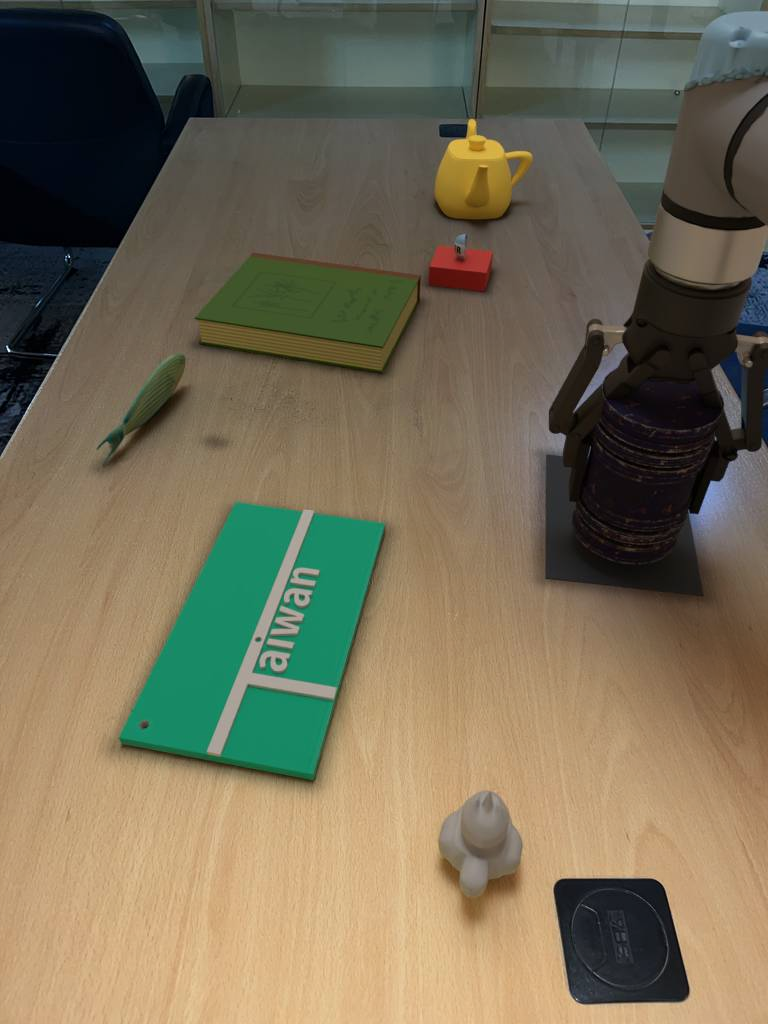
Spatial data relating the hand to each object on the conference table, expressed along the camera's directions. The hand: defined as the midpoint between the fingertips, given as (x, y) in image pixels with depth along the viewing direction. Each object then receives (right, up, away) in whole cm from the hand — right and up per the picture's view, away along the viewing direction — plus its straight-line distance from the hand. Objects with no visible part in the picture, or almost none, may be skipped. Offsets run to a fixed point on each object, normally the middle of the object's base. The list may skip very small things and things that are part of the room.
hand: (632, 497), depth 73 cm
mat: (+1, -2, +6) cm, 7 cm away
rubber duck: (-16, -25, -18) cm, 35 cm away
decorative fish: (-46, +7, +16) cm, 49 cm away
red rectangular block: (-11, +32, +43) cm, 55 cm away
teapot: (-6, +50, +62) cm, 80 cm away
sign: (-32, -11, -3) cm, 34 cm away
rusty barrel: (0, -3, +3) cm, 4 cm away
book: (-32, +24, +34) cm, 53 cm away
